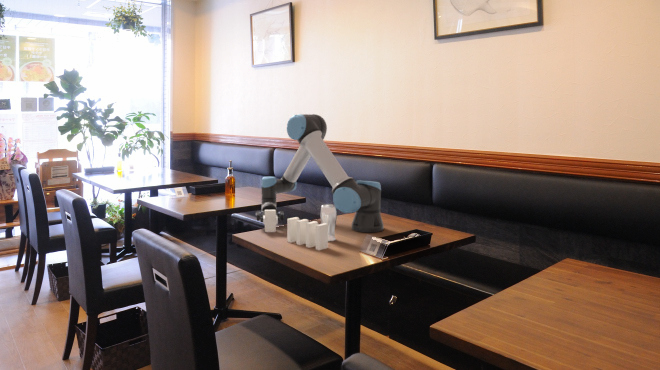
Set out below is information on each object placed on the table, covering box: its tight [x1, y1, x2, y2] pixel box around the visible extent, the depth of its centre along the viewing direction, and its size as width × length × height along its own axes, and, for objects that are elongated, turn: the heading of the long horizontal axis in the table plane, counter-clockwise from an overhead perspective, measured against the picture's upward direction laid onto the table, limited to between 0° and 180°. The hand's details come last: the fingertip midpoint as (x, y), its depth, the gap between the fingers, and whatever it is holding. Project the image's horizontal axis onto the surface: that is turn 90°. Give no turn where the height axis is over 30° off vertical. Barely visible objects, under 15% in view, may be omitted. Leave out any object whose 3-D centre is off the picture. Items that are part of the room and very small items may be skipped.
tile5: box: [315, 223, 329, 251], centre depth 196 cm, size 2×5×10 cm, turn 138°
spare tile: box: [264, 210, 277, 233], centre depth 223 cm, size 2×5×10 cm, turn 98°
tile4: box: [305, 220, 319, 248], centre depth 200 cm, size 2×5×10 cm, turn 138°
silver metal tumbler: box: [320, 203, 338, 243], centre depth 209 cm, size 7×7×15 cm
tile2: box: [286, 216, 300, 244], centre depth 207 cm, size 2×5×10 cm, turn 138°
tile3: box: [295, 218, 309, 246], centre depth 203 cm, size 2×5×10 cm, turn 138°
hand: (270, 221), depth 218 cm, fingers closed on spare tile, 5 cm apart
